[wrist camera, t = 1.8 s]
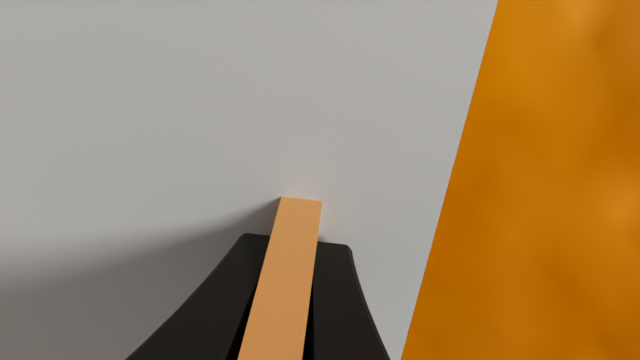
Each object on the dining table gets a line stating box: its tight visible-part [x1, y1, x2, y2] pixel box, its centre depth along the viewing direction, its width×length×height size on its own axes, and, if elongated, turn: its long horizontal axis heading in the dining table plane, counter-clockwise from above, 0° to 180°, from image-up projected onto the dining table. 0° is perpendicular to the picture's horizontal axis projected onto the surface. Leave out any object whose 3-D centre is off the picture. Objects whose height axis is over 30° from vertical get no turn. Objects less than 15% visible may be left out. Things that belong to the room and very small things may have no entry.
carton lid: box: [0, 0, 498, 360], centre depth 8 cm, size 15×14×4 cm
